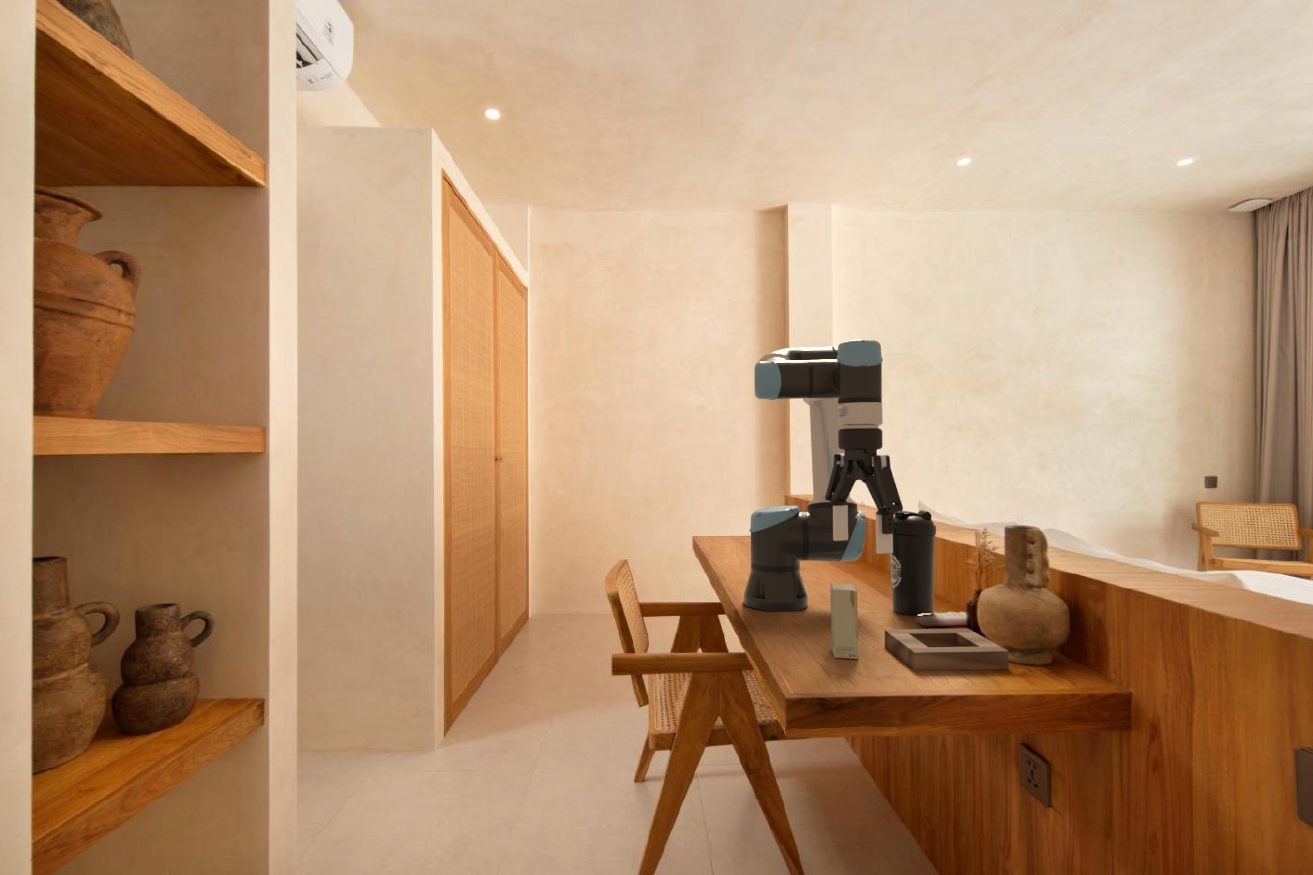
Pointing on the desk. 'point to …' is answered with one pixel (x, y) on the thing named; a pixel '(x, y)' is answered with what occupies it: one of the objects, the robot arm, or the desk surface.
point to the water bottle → (913, 563)
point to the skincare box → (844, 621)
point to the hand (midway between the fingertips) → (861, 546)
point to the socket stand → (945, 649)
